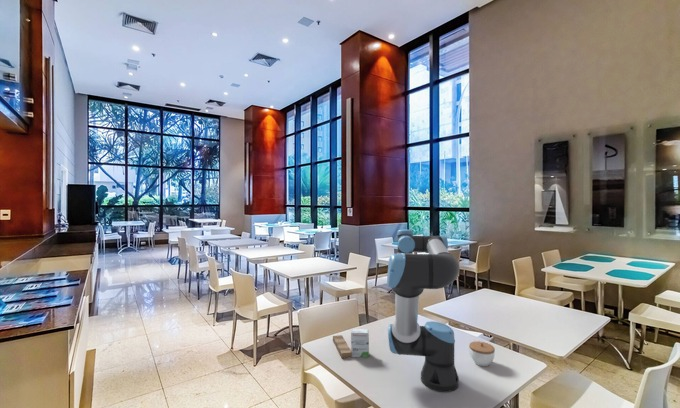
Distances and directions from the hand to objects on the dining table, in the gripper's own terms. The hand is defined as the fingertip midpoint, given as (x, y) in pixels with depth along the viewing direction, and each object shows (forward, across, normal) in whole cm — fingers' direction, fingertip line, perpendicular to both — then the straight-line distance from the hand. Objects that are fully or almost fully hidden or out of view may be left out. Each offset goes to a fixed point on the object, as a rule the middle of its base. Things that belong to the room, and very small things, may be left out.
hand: (405, 308), depth 158 cm
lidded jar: (+22, -20, -29) cm, 41 cm away
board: (+22, +14, +28) cm, 38 cm away
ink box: (+22, +5, +22) cm, 31 cm away
